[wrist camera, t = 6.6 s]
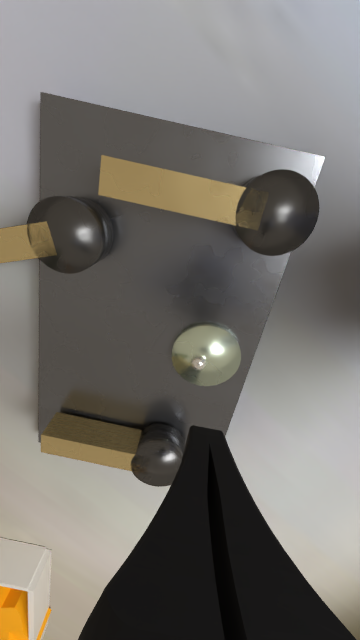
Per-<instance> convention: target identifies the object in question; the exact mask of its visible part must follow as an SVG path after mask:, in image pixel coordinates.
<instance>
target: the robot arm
mask: <svg viewBox="0 0 360 640" xmlns="http://www.w3.org/2000/svg"><path fill="white" fill-rule="evenodd" d="M78 640H356V639H355V637H354V636H353V635H352V634H351V633H350V632H349V631H348V629H347V628H346V627H345V626H344V625H343V624H342V623H341V621H340V620H339V619H338V618H337V617H336V616H335V614H334V613H333V612H332V611H331V610H330V609H329V608H328V606H327V605H326V604H325V603H324V602H323V601H322V599H321V598H320V597H319V596H318V594H317V593H316V592H315V591H314V589H313V588H312V587H311V585H310V584H309V583H308V582H307V580H306V579H305V578H304V576H303V575H302V574H301V572H300V571H299V569H298V568H297V567H296V565H295V564H294V563H293V561H292V560H291V558H290V557H289V556H288V554H287V553H286V552H285V550H284V549H283V547H282V546H281V544H280V543H279V541H278V540H277V538H276V537H275V535H274V534H273V532H272V531H271V529H270V527H269V526H268V524H267V523H266V521H265V519H264V518H263V516H262V514H261V513H260V511H259V509H258V507H257V505H256V504H255V502H254V500H253V498H252V496H251V494H250V493H249V491H248V489H247V487H246V485H245V483H244V481H243V478H242V476H241V474H240V472H239V470H238V468H237V466H236V463H235V461H234V459H233V456H232V454H231V452H230V449H229V447H228V444H227V441H226V439H225V436H224V433H223V432H222V431H220V430H215V429H210V428H205V427H200V426H194V425H193V426H191V427H190V428H189V432H188V436H187V440H186V444H185V448H184V452H183V456H182V461H181V464H180V467H179V469H178V471H177V474H176V476H175V478H174V480H173V482H172V485H171V487H170V489H169V491H168V493H167V495H166V497H165V498H164V500H163V502H162V504H161V506H160V508H159V509H158V511H157V513H156V514H155V516H154V518H153V520H152V521H151V523H150V525H149V526H148V528H147V529H146V531H145V533H144V534H143V536H142V537H141V539H140V540H139V542H138V543H137V545H136V546H135V548H134V549H133V550H132V552H131V553H130V555H129V556H128V558H127V559H126V561H125V562H124V563H123V565H122V566H121V567H120V569H119V570H118V571H117V573H116V574H115V575H114V577H113V578H112V579H111V581H110V582H109V583H108V585H107V586H106V587H105V589H104V591H103V593H102V595H101V597H100V598H99V600H98V602H97V604H96V606H95V607H94V609H93V611H92V613H91V614H90V616H89V618H88V620H87V622H86V624H85V626H84V628H83V630H82V632H81V634H80V636H79V639H78Z"/></svg>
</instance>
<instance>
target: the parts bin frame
mask: <svg viewBox="0 0 360 640" xmlns="http://www.w3.org/2000/svg"><path fill="white" fill-rule="evenodd" d="M51 553H52V550H50V549H46V547H43V546H38V545H33V544H29V543H24V542H19V541H14V540H9V539H4V538H0V586H3V587H8V588H13V589H18V590H23V591H27V592H28V632H29V640H36V639H37V637H38V634H39V631H40V629H41V626H42V623H43V621H44V618H45V615H46V613H47V610H48V607H49V604H50V578H51ZM48 622H49V618H48V620H47V623H46V625H45V628H44V631H43V633H42V636H41V638H40V640H42V639H43V636H44V633H45V631H46V628H47V625H48Z"/></svg>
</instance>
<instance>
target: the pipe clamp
mask: <svg viewBox="0 0 360 640" xmlns="http://www.w3.org/2000/svg"><path fill="white" fill-rule="evenodd" d="M50 612H51V609H50V608H49V607H48V610H47V613H46V615H45V618H44V621H43V623H42V626H41V629H40V631H39V634H38V637H37V639H36V640H40V638H41V636H42V633H43V631H44V628H45V625H46V623H47V620H48V618H49V615H50ZM0 640H29V632H28V592H27V591H23V590H18V589H13V588H8V587H3V586H0Z"/></svg>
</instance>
